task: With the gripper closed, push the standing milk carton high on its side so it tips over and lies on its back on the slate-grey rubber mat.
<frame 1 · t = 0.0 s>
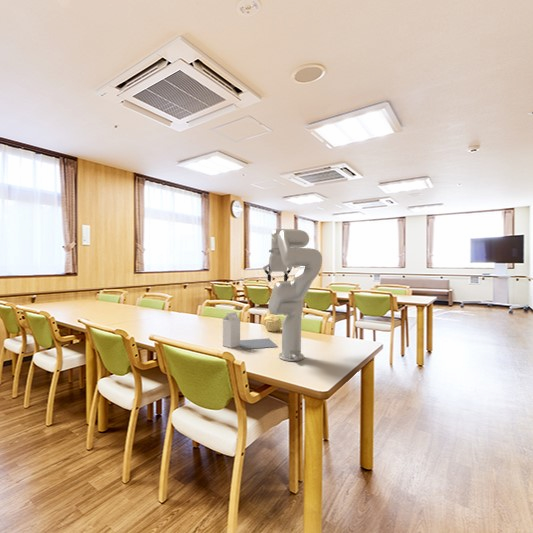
hand: (277, 281, 177), 37 cm above the table, tool pointing down, fingers open, 9 cm apart
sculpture: (272, 330, 213), on the table
back mat: (256, 344, 179), on the table
milk carton: (231, 346, 175), on the table
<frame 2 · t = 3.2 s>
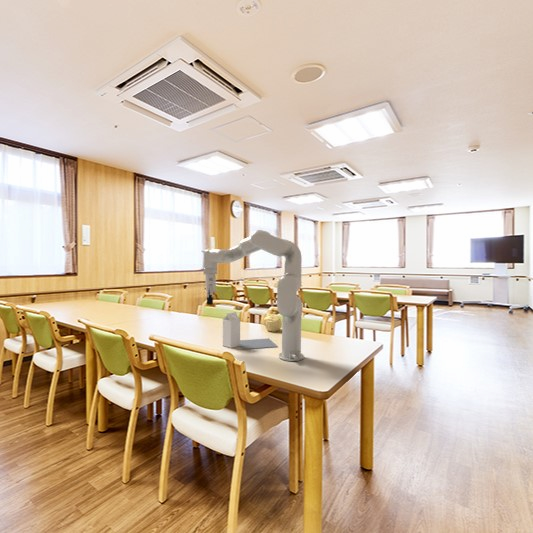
hand: (209, 304, 171), 24 cm above the table, tool pointing down, fingers closed
nothing on the table moved.
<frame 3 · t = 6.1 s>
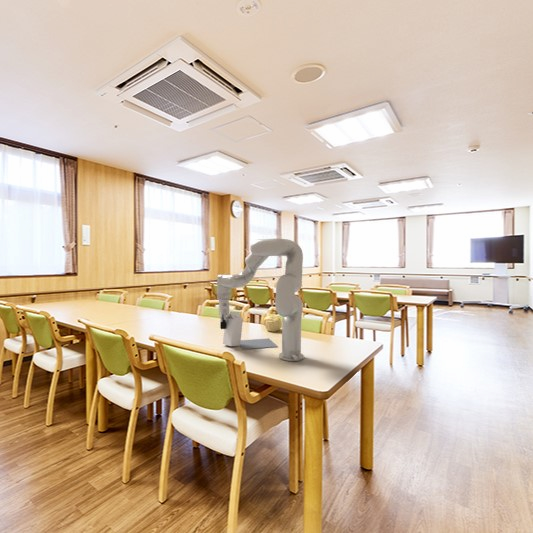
hand: (223, 328, 173), 10 cm above the table, tool pointing down, fingers closed
milk carton: (231, 345, 175), on the table, touching gripper
everything else where it was.
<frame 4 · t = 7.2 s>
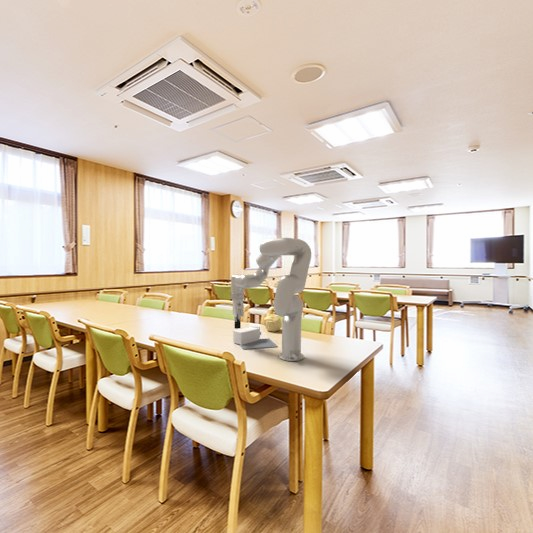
hand: (237, 328, 175), 10 cm above the table, tool pointing down, fingers closed
milk carton: (236, 337, 177), point 4 cm above the table, touching back mat
everything else where it was.
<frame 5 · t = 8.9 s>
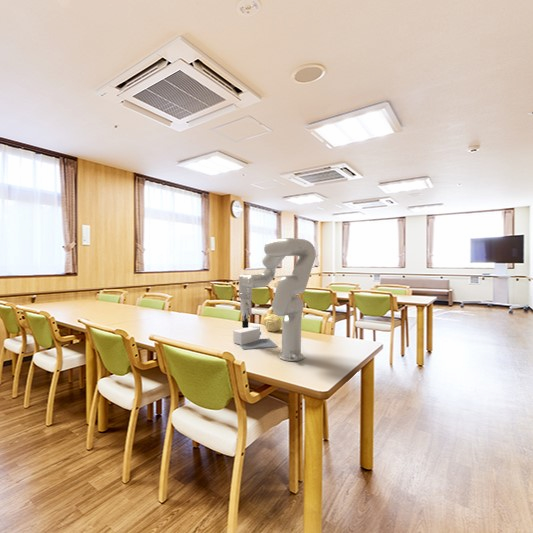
hand: (245, 327, 177), 10 cm above the table, tool pointing down, fingers closed
nothing on the table moved.
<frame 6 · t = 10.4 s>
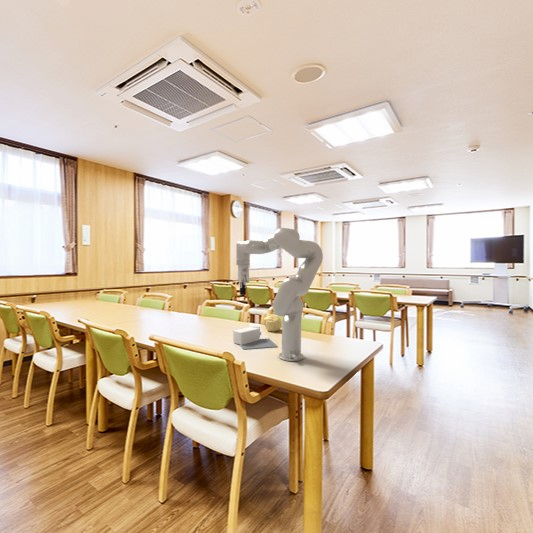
hand: (242, 294, 175), 29 cm above the table, tool pointing down, fingers closed
nothing on the table moved.
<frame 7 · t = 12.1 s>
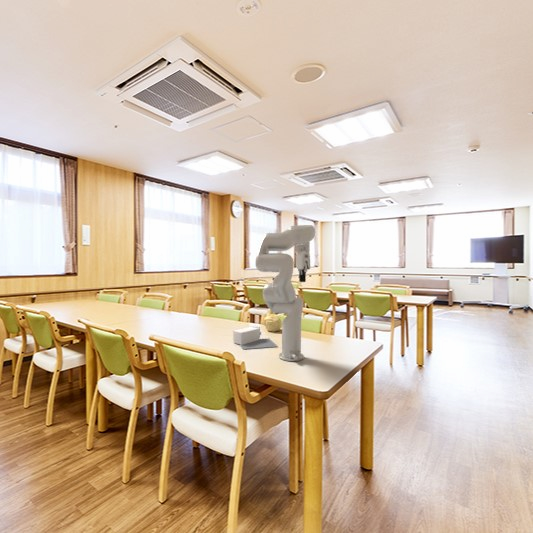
hand: (302, 281, 172), 37 cm above the table, tool pointing down, fingers closed
nothing on the table moved.
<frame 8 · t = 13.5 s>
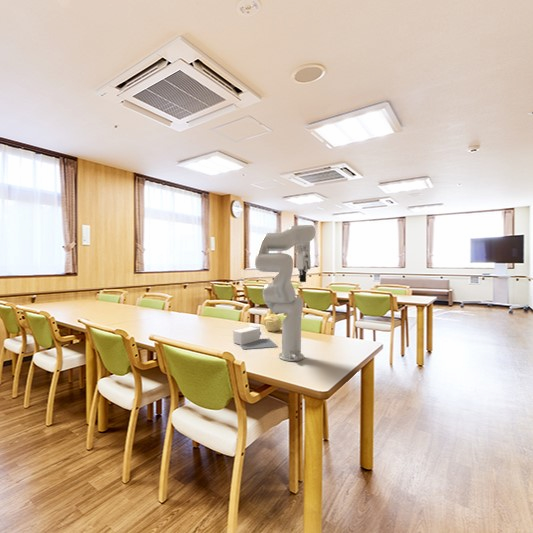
hand: (302, 281, 172), 37 cm above the table, tool pointing down, fingers closed
nothing on the table moved.
at the end: milk carton tilted 90°; milk carton inside the target area (4.4 cm from its centre), point 4.0 cm above the table; milk carton touching back mat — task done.
